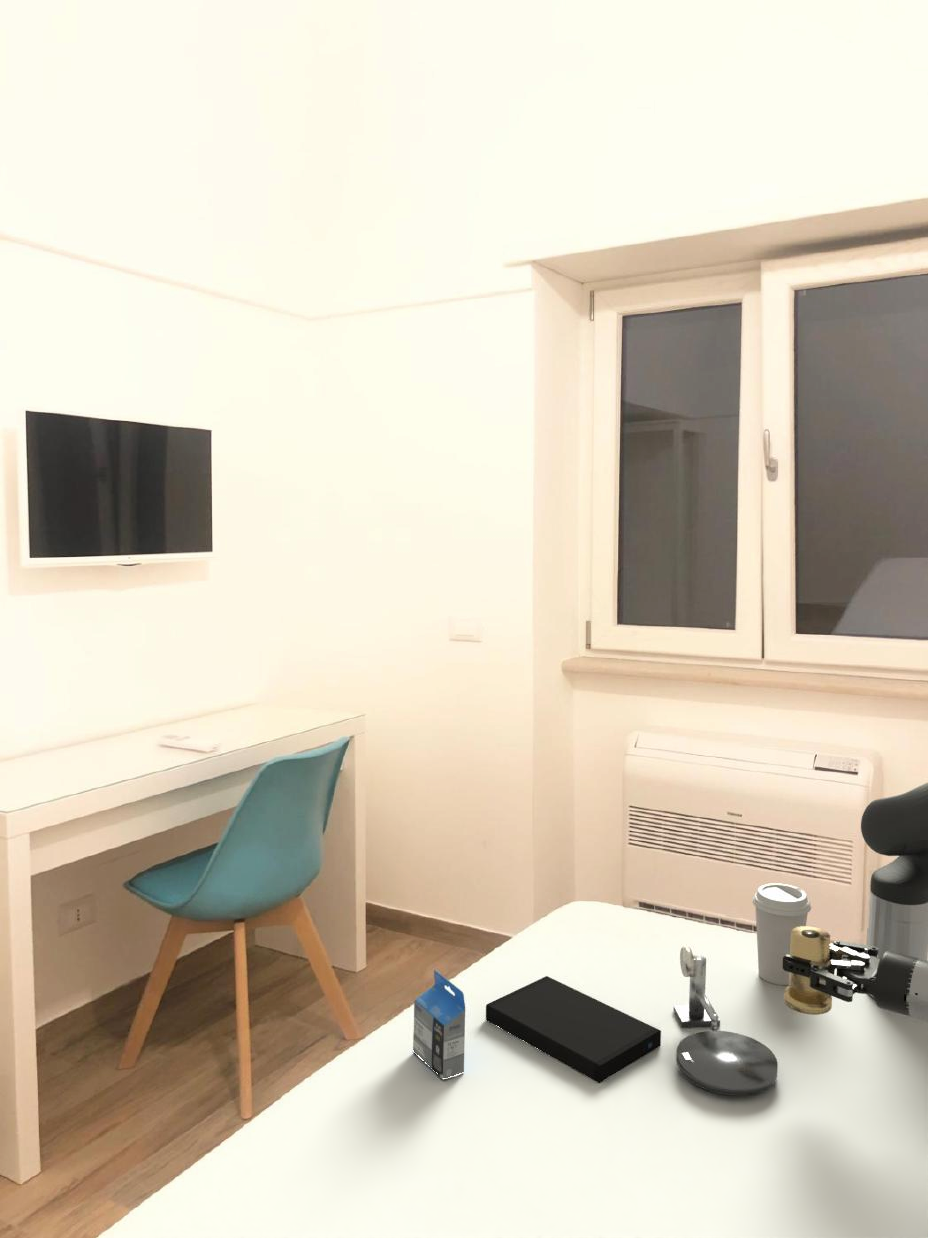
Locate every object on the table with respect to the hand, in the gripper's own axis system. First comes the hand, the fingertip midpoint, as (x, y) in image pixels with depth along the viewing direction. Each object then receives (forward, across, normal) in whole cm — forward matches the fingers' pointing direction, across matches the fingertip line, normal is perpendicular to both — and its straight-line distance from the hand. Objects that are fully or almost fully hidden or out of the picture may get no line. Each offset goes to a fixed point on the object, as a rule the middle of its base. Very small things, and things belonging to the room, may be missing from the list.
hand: (791, 954), depth 146 cm
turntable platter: (+7, +6, +18) cm, 20 cm away
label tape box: (+42, +28, +18) cm, 53 cm away
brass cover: (-3, 0, +6) cm, 7 cm away
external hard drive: (+30, +9, +18) cm, 36 cm away
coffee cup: (+11, -28, +18) cm, 35 cm away
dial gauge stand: (+14, -3, +18) cm, 23 cm away
